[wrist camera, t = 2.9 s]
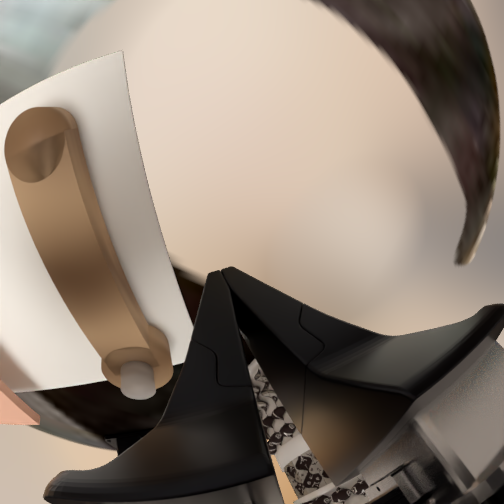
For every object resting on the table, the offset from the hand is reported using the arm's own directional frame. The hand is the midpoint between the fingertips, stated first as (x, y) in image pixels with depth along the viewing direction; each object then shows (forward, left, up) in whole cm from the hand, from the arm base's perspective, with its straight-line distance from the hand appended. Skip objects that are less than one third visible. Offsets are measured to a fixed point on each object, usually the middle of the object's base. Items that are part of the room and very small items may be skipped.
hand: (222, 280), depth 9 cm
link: (-1, +6, -5) cm, 8 cm away
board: (0, +13, -6) cm, 15 cm away
